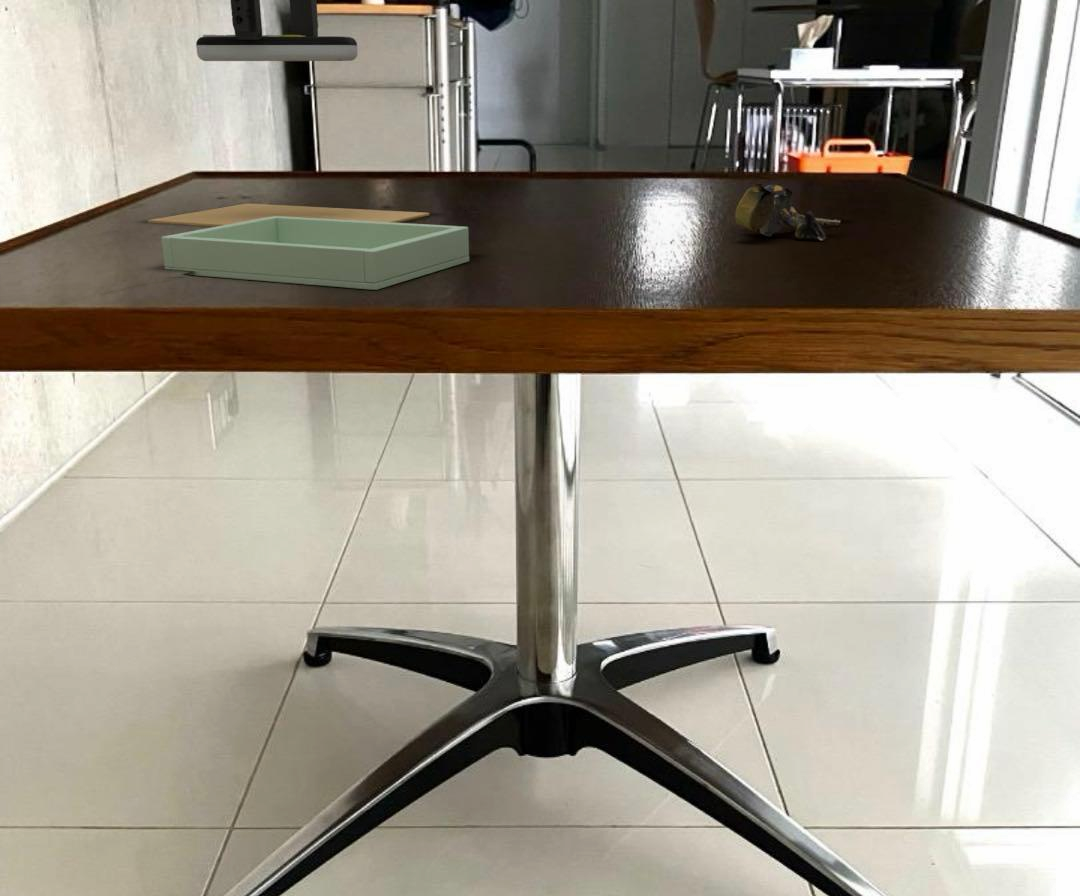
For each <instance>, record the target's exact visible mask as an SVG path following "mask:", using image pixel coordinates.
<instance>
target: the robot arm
mask: <svg viewBox="0 0 1080 896" xmlns="http://www.w3.org/2000/svg"><path fill="white" fill-rule="evenodd" d="M317 2H318V1H317V0H289V12H290V13H289V14H290V25H291V35H301V36H306V37H313V36H319V20H318V17H319V16H318V3H317ZM230 10H231V21H232V27H233V31H234V35H235V36H236V37H237V38H238V39H239V40H258V39H260V38H261V37H262V35H263V25H262V24H263V23H262V11H261V0H230Z"/></svg>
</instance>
